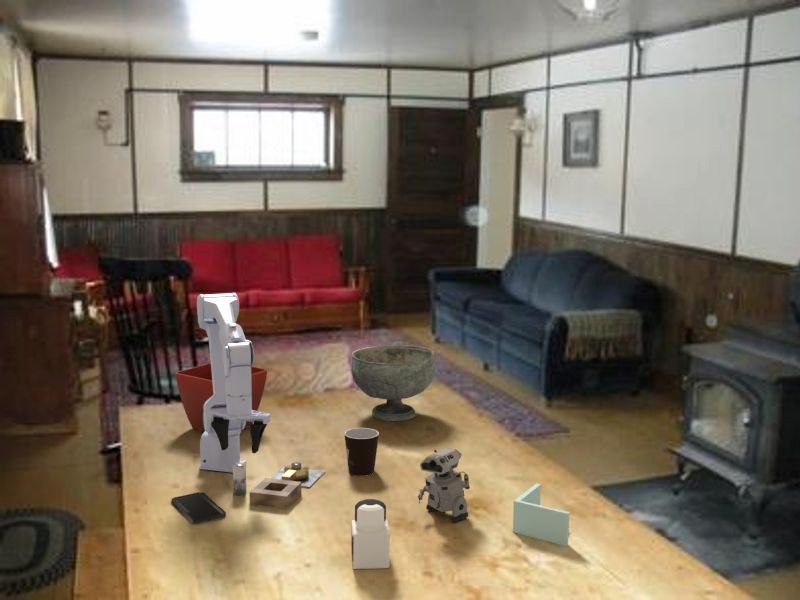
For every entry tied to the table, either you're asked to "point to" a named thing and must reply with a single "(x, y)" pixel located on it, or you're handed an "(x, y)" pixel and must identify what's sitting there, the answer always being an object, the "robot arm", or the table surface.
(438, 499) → the figurine
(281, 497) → the socket block
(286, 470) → the ring nut
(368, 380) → the decorative bowl
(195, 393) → the plant pot
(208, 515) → the phone
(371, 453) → the coffee mug
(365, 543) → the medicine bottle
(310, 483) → the plate
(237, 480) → the pin
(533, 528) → the l-shaped corner panel
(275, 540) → the table surface
